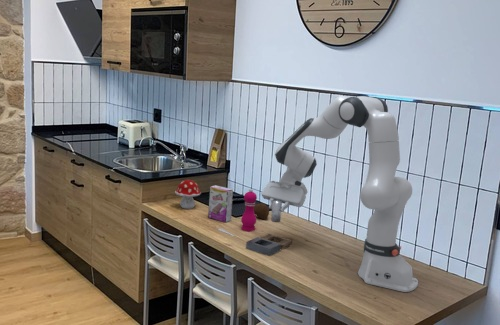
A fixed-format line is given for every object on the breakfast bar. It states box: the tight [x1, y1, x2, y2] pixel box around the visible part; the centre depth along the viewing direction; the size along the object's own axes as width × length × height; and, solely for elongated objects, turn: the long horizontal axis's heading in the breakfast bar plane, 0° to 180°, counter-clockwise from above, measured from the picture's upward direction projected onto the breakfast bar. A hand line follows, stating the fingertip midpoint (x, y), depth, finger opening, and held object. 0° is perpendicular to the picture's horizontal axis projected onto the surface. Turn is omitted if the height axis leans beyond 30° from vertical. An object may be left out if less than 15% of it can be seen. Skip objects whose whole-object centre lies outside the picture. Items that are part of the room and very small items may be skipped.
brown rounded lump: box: [254, 202, 270, 220], centre depth 263 cm, size 7×10×8 cm
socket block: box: [245, 236, 281, 257], centre depth 219 cm, size 12×8×3 cm
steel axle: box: [270, 200, 283, 223], centre depth 223 cm, size 4×4×9 cm
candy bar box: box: [207, 184, 234, 223], centre depth 255 cm, size 11×5×16 cm, turn 58°
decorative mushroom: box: [174, 179, 202, 210], centre depth 272 cm, size 14×14×15 cm
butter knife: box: [217, 228, 235, 237], centre depth 233 cm, size 1×24×3 cm
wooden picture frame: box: [260, 233, 293, 251], centre depth 227 cm, size 12×8×2 cm
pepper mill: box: [240, 188, 258, 232], centre depth 242 cm, size 7×7×20 cm
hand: (275, 209), depth 222 cm, fingers closed on steel axle, 4 cm apart
